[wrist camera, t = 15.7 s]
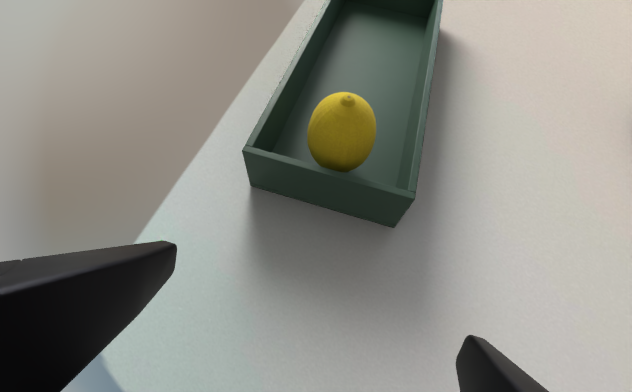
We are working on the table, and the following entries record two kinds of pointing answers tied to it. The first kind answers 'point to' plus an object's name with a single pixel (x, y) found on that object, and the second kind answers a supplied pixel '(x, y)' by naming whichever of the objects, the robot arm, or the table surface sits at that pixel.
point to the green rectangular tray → (365, 81)
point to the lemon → (341, 132)
